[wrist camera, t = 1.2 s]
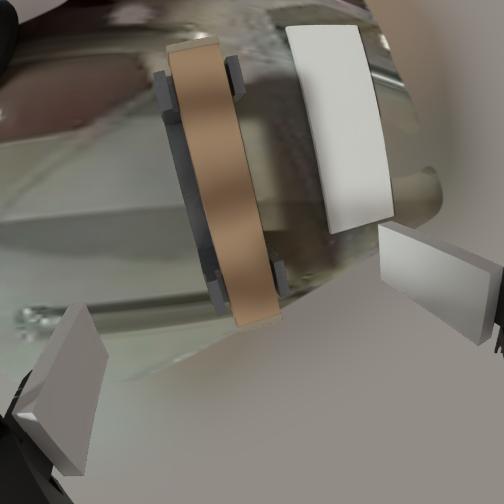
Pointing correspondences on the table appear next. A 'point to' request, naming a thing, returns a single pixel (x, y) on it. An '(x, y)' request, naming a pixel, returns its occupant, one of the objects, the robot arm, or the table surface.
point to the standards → (191, 190)
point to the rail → (224, 180)
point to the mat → (343, 124)
